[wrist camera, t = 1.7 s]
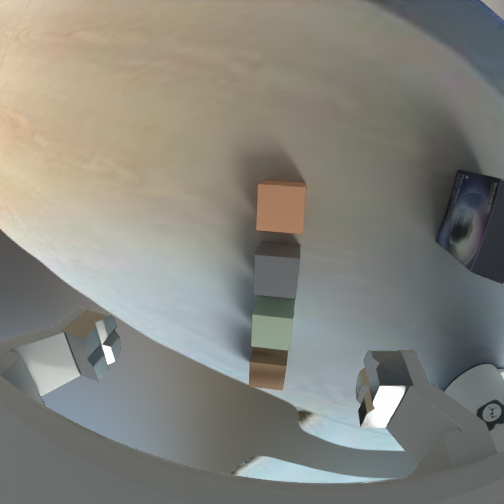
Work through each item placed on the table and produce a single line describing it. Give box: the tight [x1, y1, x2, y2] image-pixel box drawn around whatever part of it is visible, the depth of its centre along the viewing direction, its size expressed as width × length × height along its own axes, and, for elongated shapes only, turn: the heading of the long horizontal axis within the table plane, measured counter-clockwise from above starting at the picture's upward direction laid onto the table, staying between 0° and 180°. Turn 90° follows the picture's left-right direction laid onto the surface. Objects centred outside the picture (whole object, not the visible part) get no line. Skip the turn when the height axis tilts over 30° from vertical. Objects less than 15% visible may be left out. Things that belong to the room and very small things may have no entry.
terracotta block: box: [256, 180, 306, 234], centre depth 32 cm, size 5×5×5 cm
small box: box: [436, 170, 504, 284], centre depth 26 cm, size 11×6×10 cm, turn 167°
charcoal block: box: [253, 242, 300, 299], centre depth 35 cm, size 5×5×5 cm
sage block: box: [251, 296, 295, 351], centre depth 38 cm, size 5×5×5 cm
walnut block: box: [249, 347, 288, 390], centre depth 40 cm, size 5×5×5 cm
